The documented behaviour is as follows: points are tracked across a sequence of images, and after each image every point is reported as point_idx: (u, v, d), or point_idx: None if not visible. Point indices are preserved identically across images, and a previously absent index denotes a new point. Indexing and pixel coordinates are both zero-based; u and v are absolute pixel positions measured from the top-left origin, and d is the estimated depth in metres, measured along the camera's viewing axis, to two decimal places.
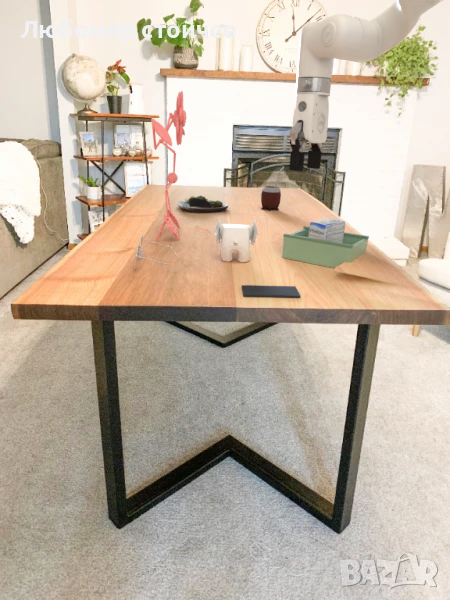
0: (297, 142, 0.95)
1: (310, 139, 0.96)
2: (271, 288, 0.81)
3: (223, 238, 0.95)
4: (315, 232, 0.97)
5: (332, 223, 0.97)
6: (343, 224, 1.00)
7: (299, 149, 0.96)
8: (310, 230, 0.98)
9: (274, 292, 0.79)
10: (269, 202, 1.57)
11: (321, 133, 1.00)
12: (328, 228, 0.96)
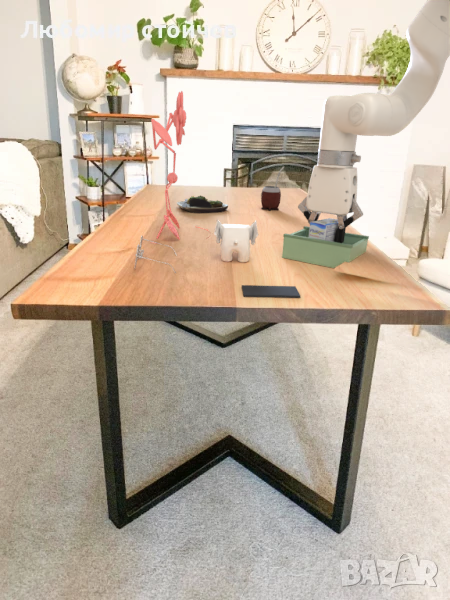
0: None
1: None
2: (271, 288, 0.81)
3: (223, 238, 0.95)
4: (315, 232, 0.97)
5: (332, 223, 0.97)
6: None
7: None
8: (310, 230, 0.98)
9: (274, 292, 0.79)
10: (269, 202, 1.57)
11: None
12: (328, 228, 0.96)
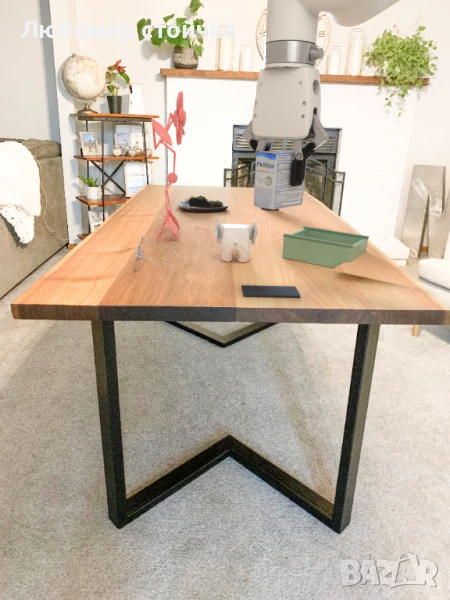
0: None
1: None
2: (271, 288, 0.81)
3: (223, 238, 0.95)
4: (263, 165, 0.69)
5: (287, 153, 0.69)
6: None
7: None
8: (257, 164, 0.70)
9: (274, 292, 0.79)
10: None
11: None
12: (280, 159, 0.68)
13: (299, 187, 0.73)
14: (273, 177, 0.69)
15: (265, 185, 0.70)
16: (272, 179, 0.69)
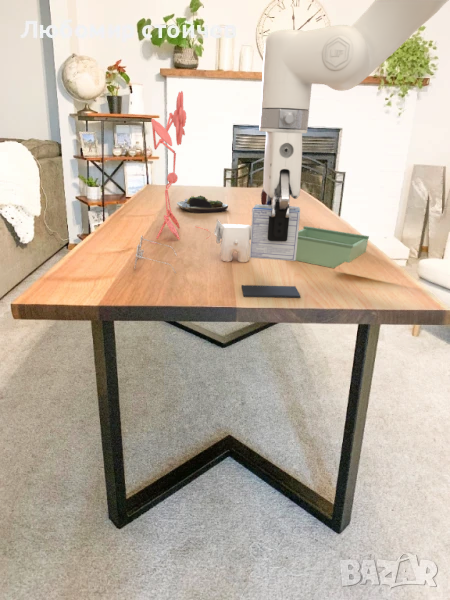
0: (288, 206, 0.69)
1: (298, 195, 0.69)
2: (271, 288, 0.81)
3: (223, 238, 0.95)
4: None
5: None
6: (294, 214, 0.72)
7: (286, 216, 0.70)
8: None
9: (274, 292, 0.79)
10: None
11: None
12: (257, 213, 0.73)
13: (288, 243, 0.74)
14: (251, 229, 0.74)
15: None
16: (251, 230, 0.75)
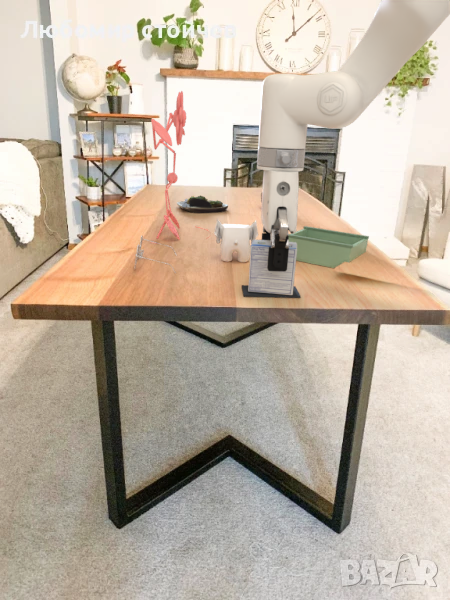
0: (287, 238, 0.69)
1: (295, 230, 0.71)
2: None
3: (223, 238, 0.95)
4: None
5: (269, 246, 0.75)
6: (291, 251, 0.74)
7: (286, 245, 0.70)
8: None
9: None
10: None
11: None
12: (255, 250, 0.75)
13: (286, 278, 0.76)
14: None
15: None
16: None
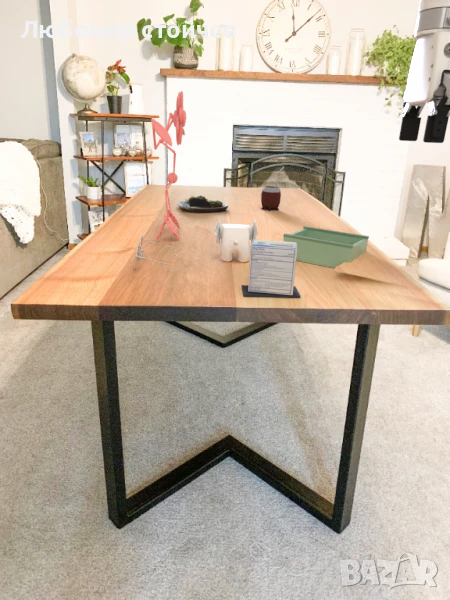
0: None
1: None
2: None
3: (223, 238, 0.95)
4: None
5: (269, 246, 0.75)
6: (291, 251, 0.74)
7: (449, 112, 0.69)
8: None
9: None
10: (269, 202, 1.57)
11: None
12: (255, 250, 0.75)
13: (286, 278, 0.76)
14: None
15: None
16: None
